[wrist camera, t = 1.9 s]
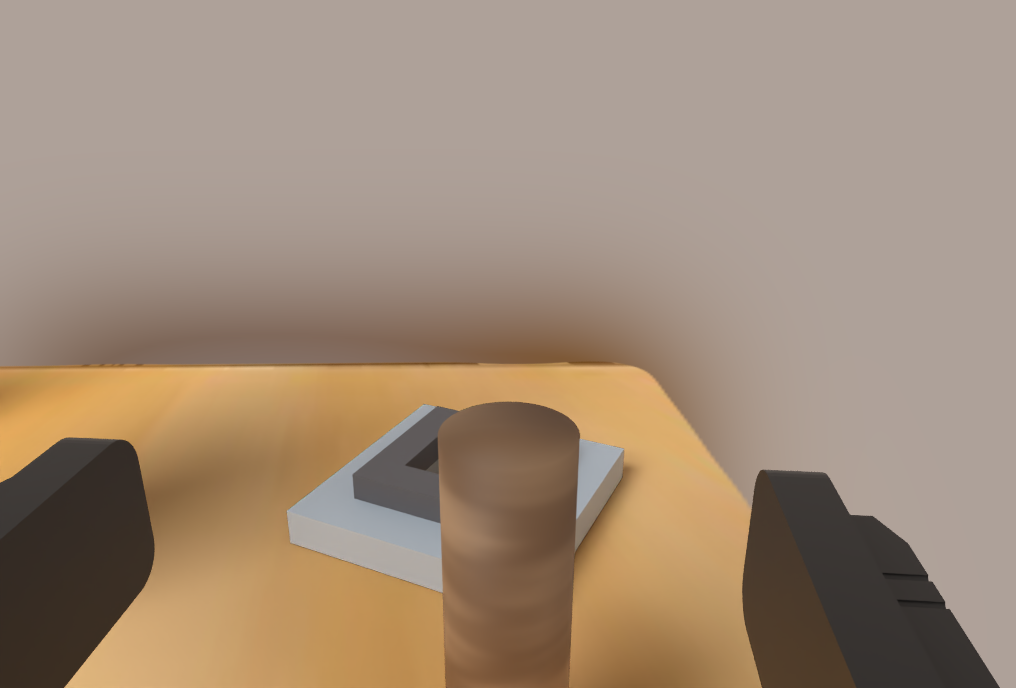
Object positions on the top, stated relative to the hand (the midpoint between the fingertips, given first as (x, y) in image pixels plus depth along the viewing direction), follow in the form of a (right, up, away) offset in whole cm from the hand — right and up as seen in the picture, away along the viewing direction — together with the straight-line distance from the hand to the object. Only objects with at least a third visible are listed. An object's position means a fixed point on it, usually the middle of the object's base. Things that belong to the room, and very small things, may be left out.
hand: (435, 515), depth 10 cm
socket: (-1, -7, +35) cm, 36 cm away
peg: (+1, -14, +18) cm, 23 cm away
